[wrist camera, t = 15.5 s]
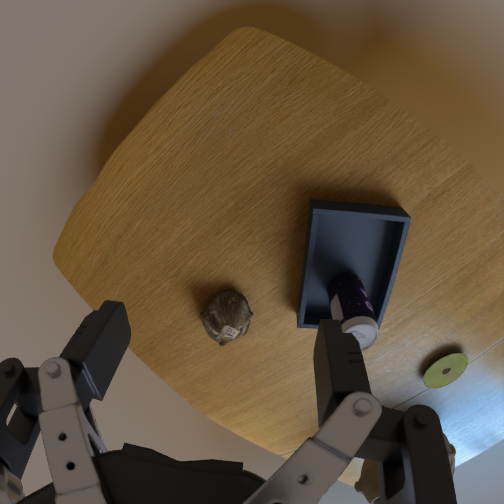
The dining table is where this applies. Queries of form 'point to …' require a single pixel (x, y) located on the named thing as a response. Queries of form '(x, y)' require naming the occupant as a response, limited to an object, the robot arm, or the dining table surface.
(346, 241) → the dark blue tray
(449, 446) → the bowl
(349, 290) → the beverage can
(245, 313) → the fossilized seashell
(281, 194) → the dining table surface
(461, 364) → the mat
